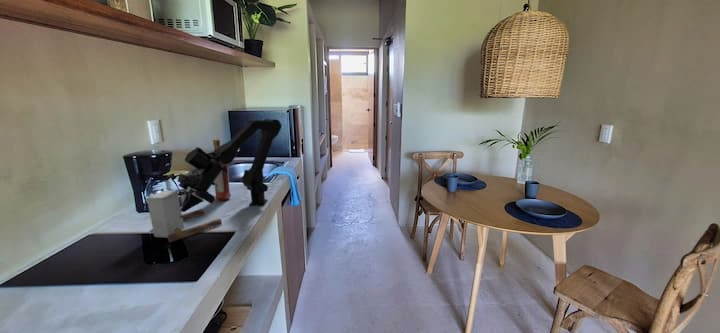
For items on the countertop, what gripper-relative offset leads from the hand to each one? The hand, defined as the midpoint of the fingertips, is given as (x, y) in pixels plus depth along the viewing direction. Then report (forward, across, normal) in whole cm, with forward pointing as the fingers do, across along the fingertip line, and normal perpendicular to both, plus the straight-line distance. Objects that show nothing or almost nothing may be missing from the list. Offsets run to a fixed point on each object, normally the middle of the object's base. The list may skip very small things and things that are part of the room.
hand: (181, 211), depth 113 cm
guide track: (+4, 0, +6) cm, 7 cm away
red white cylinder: (-12, -17, +21) cm, 30 cm away
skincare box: (+8, 0, +1) cm, 8 cm away
